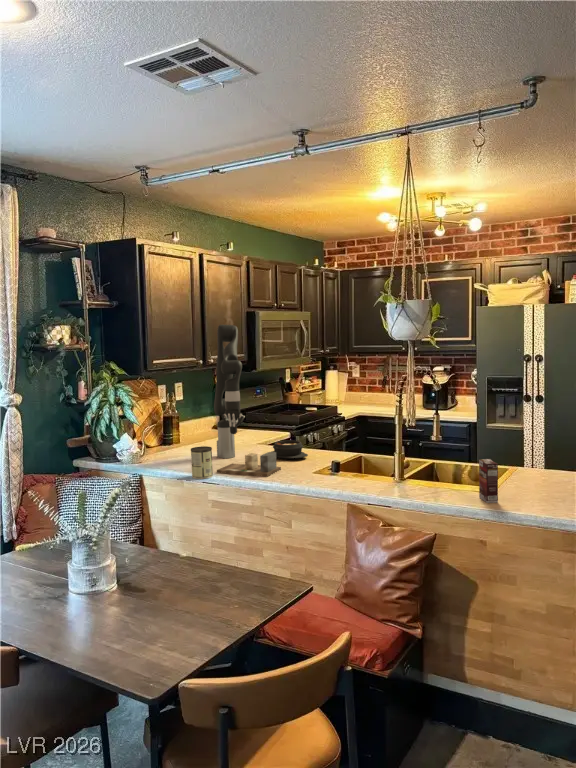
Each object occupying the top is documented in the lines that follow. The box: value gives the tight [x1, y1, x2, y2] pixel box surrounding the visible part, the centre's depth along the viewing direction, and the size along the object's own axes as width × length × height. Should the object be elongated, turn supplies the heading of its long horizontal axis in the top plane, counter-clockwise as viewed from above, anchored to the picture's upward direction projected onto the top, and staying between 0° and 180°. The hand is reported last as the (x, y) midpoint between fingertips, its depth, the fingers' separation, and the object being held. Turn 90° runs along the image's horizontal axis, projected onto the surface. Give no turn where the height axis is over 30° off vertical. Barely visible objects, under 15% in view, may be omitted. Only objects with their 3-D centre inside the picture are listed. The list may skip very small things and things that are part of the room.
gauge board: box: [216, 451, 282, 478], centre depth 310 cm, size 28×16×10 cm, turn 66°
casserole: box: [270, 439, 309, 460], centre depth 342 cm, size 25×19×8 cm
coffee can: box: [190, 445, 214, 480], centre depth 301 cm, size 10×10×14 cm
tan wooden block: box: [244, 452, 259, 470], centre depth 307 cm, size 4×10×7 cm, turn 156°
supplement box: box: [478, 458, 499, 504], centre depth 246 cm, size 9×5×16 cm, turn 3°
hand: (233, 433), depth 312 cm, fingers closed
